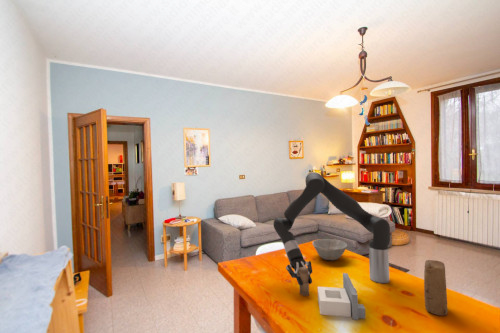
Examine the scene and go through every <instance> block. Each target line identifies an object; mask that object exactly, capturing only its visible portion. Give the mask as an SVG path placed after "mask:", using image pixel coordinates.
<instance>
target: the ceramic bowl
mask: <svg viewBox="0 0 500 333" xmlns="http://www.w3.org/2000/svg"><path fill="white" fill-rule="evenodd" d="M311 243H312V246H313V247H314V249H315V251H316V253H317V254H318V256H319V257H320V258H322V259H323V260H325V261H337V260H339V259H340V258H341V257H342V255H344V253H345V251H346V249H347V248H348V244H347V242H345V241H343V240H339V239H334V238H333V239H332V238H319V239H315V240H313V241H312V242H311Z"/></svg>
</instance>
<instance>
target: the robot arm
mask: <svg viewBox="0 0 500 333" xmlns="http://www.w3.org/2000/svg"><path fill="white" fill-rule="evenodd" d="M319 194H322V195H323V196H324V197H325V198H327V200H328V201H329V202H330V203H331V204H332V205H333V207H335V209H337V210H338V211H340V212H341V213H342V214H345V215H346V216H348V217H350V218H351V219H353V220H354V221H356V222H358V223H359V224H360V225H361V226H362V227H364V228H365V230H367V231H368V232H369V233H371V234H373V235H372V239H370V240H368V253H369V254H368V255H369V258H368V259H369V262H368V263H369V278H370V280H371V281H373V282H375V283H379V284H387V283H390V261H389V260H390V258H389V245H390V242H391V241H390V240H391V226H390V223H389V221H388V220H387V219H385V218H382V217H378V216H376V215H373V214H371V213H369V212H368V211H366V210H365V209H364V208H363V207H362V206H361V205H360V203H358V201H357V200H356V199H354V198H353V197H352V196H350V195H348V194H347V193H345V192H344V191H342V190H341V189H340V188H338V187H336V186H335V185H333V184H332V183H331V182H329V180H327V179H326V178H325V177H324V176H322V175H321V174H320V173H319V172H309V173H308V174H307V175H306V176H305V187H304V189H303V191H302V192H301V194H300V195H299V196H298V197H297V198H296V199H294V200H293V201H292V202H290V204H289V205H288V206H287V208H286V209H285V211H284V212H283V215H284V217H285V218H283V217H277V218H275V219H274V220H273V230H275V232H276V234H278V236H279V238H280V239H281V242H282V244H283V248H284V251H285V254H286V256H287V259H288V262H289V264H287V265H286V267H285V268H286V269H285V270H286V271H287V272H288V273H289V275H290V277H291V278H293V279H295V280H296V281H297V284H298V285H299V287H300V286H302V285H303V283H302V280H301V278H300V277H299V268H300V267H306V268H308V278H309V285H311V284H312V283H313V279H312V277H311V275H312V273H313V266H312V262H311V261H310V260H308V261H306V260H305V259H304V255H303V253H302V250H301V249H300V247H299V244H298V242H297V240H296V238H295V235H294V234H293V232H291V231H290V230H291V229H292V227H293V226H294V223H295V220H296V218H298V216H299V215H300V214H301V213H302V211H303V210H304V209H305V207H307V205H309V203H311V202H312V201H313V200H314V199H315V198H316V197H317V196H319Z"/></svg>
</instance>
